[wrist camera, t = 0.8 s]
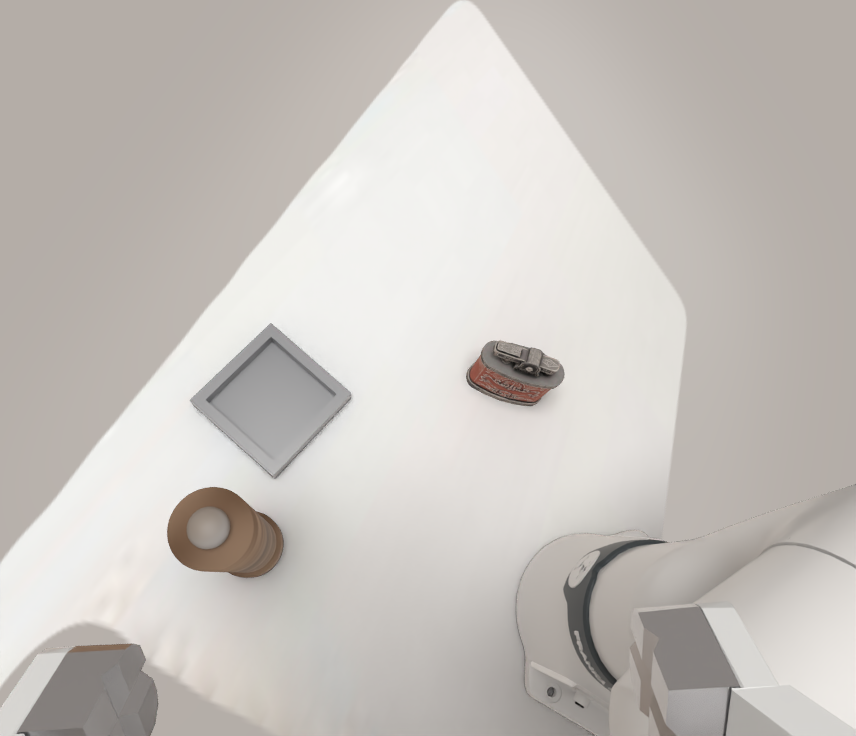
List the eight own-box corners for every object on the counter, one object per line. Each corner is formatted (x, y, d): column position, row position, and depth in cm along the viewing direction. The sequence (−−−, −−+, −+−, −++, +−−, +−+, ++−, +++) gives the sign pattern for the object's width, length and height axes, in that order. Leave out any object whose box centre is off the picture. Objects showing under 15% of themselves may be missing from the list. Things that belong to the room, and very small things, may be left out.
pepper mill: (296, 541, 61) (277, 521, 38) (252, 590, 59) (203, 601, 36) (251, 501, 61) (205, 456, 38) (207, 548, 60) (130, 531, 36)
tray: (350, 398, 66) (351, 393, 64) (274, 478, 62) (273, 475, 60) (272, 330, 67) (271, 323, 65) (193, 405, 63) (189, 400, 61)
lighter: (543, 382, 69) (577, 352, 60) (535, 412, 68) (569, 386, 59) (471, 358, 69) (494, 324, 59) (462, 387, 68) (484, 357, 58)
